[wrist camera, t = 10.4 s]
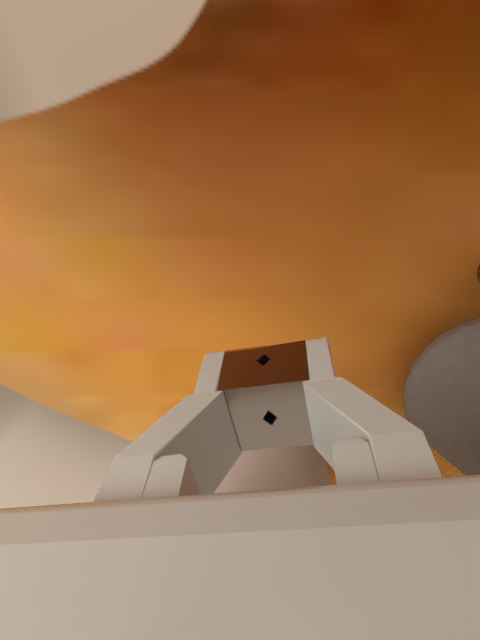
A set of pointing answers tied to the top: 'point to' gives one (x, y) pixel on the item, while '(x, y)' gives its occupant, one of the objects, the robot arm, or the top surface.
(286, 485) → the coffee cup
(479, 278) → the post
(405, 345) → the top surface
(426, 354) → the coffee pot
